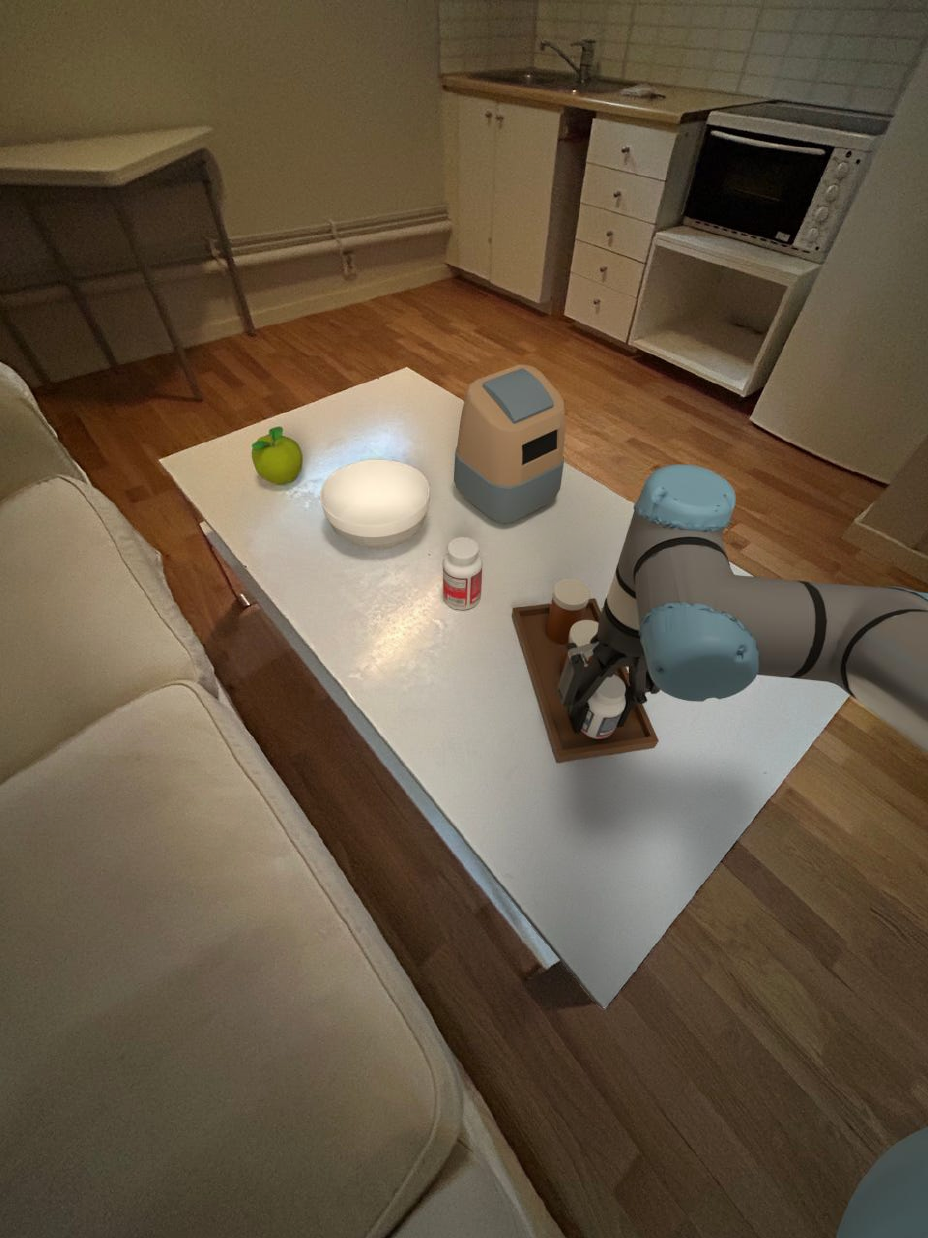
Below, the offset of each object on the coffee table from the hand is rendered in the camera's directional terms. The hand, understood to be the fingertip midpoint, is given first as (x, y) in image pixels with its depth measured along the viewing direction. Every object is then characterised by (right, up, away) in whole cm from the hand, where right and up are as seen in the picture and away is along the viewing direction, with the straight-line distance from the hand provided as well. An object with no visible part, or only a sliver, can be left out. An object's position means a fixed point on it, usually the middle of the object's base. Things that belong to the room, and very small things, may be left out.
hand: (595, 721), depth 73 cm
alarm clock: (-10, +38, +33) cm, 51 cm away
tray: (-1, +6, +6) cm, 8 cm away
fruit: (-54, +42, +35) cm, 77 cm away
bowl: (-33, +30, +26) cm, 52 cm away
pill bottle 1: (-18, +17, +16) cm, 30 cm away
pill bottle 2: (0, 0, 0) cm, 0 cm away
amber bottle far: (-3, +12, +11) cm, 16 cm away
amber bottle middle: (-1, +6, +5) cm, 8 cm away
